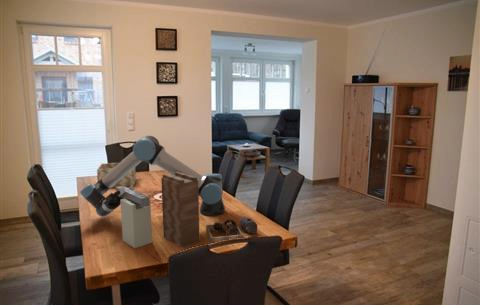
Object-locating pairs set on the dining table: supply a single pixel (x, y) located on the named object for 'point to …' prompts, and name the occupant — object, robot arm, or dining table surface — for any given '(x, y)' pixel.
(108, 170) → the zigzag patterned box
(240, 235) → the coaster tray
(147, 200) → the bar
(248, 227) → the perforated stone tool
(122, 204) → the slotted cradle
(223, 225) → the pottery mug
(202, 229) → the dining table surface
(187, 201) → the walnut stand
